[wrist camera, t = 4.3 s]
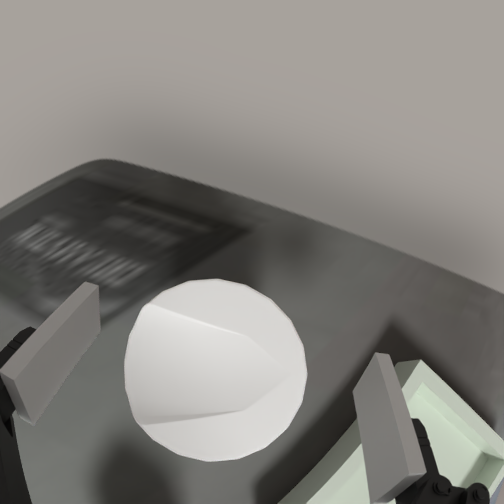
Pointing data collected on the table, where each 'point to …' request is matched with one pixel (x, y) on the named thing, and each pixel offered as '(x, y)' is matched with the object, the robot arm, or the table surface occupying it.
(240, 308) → the spray bottle
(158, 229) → the table surface
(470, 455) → the tray
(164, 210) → the table surface
